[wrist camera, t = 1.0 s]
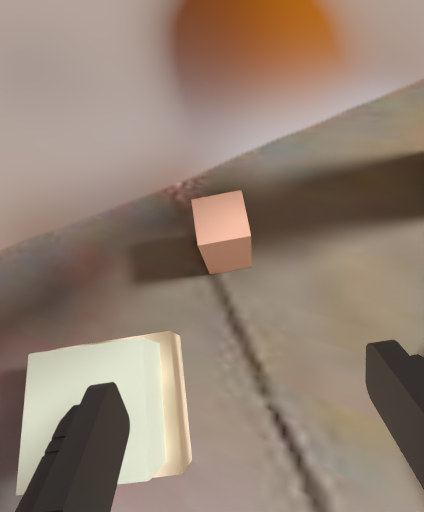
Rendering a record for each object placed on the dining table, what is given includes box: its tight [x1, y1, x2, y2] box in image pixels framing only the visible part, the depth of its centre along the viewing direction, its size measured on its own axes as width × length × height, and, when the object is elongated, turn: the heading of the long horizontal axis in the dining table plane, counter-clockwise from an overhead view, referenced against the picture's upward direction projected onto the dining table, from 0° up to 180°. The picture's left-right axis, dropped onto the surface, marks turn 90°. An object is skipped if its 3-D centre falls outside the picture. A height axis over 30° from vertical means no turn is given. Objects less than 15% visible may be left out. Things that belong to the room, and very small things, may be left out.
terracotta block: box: [191, 190, 251, 274], centre depth 34 cm, size 5×5×9 cm
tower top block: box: [16, 338, 166, 496], centre depth 27 cm, size 10×10×5 cm
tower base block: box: [54, 331, 192, 478], centre depth 31 cm, size 12×12×5 cm
